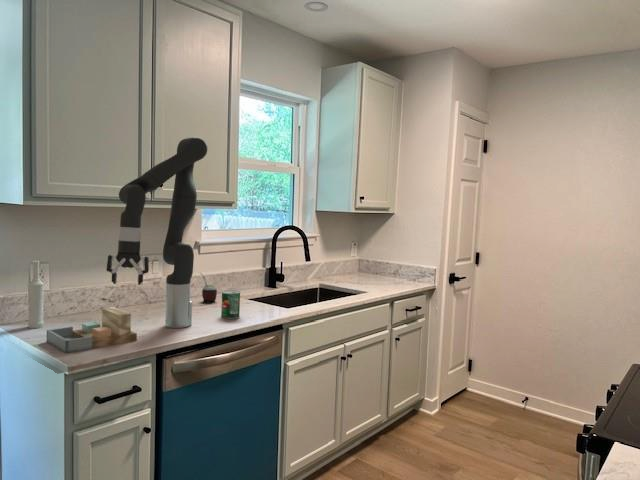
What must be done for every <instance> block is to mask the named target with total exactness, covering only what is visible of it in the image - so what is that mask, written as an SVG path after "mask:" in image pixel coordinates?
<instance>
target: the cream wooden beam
mask: <svg viewBox="0 0 640 480" xmlns="http://www.w3.org/2000/svg"><path fill="white" fill-rule="evenodd" d="M101 310H102V311H101V326H102V327H105V326H106V327H108V328H110V329H111V331H112V332H114V333H116V334H118V335H123V334H129V333H131V331H132V330H131V328H132V327H131V326H132V324H131V323H132V320H131V319H132V313H130V312H128V311H126V310H125V311H124V310H122V309H120V308H117V307H114V306H110V307H103V308H101Z"/></svg>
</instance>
